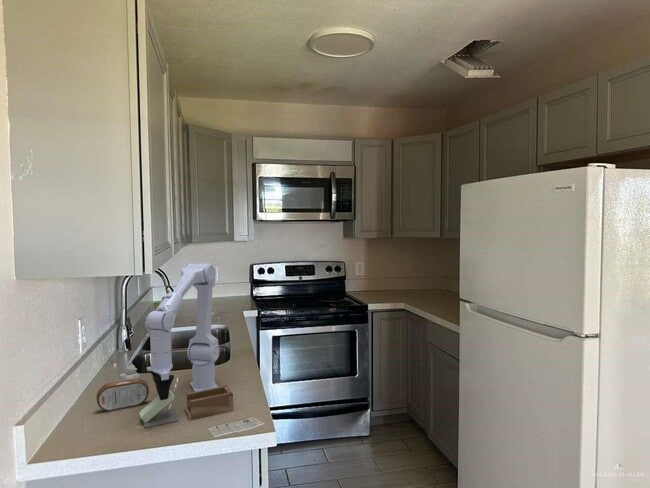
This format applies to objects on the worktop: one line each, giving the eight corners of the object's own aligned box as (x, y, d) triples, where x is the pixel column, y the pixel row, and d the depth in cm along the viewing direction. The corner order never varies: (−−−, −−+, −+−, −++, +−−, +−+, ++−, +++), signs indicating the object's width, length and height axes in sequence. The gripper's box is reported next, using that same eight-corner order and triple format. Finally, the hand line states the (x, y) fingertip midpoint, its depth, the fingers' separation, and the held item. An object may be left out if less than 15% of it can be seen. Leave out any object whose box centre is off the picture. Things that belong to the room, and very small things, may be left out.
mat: (142, 415, 127) (142, 414, 127) (173, 409, 131) (173, 408, 131) (144, 428, 119) (144, 427, 119) (178, 421, 124) (178, 419, 123)
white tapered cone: (138, 385, 152) (137, 363, 151) (118, 387, 150) (117, 365, 149) (141, 379, 157) (140, 358, 156) (121, 381, 155) (120, 360, 155)
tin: (149, 400, 138) (148, 375, 138) (150, 404, 136) (149, 378, 135) (97, 410, 131) (95, 384, 131) (96, 414, 128) (95, 387, 128)
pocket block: (184, 410, 130) (184, 393, 130) (226, 401, 136) (226, 385, 136) (189, 420, 124) (188, 402, 124) (233, 410, 130) (232, 393, 130)
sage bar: (144, 417, 125) (139, 412, 124) (172, 393, 129) (167, 387, 128) (145, 423, 122) (140, 417, 121) (175, 397, 125) (169, 392, 124)
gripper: (144, 346, 129) (145, 390, 130) (149, 360, 116) (150, 408, 117) (168, 343, 133) (169, 385, 133) (175, 356, 120) (177, 402, 121)
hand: (162, 396), depth 125 cm, fingers open, 5 cm apart
